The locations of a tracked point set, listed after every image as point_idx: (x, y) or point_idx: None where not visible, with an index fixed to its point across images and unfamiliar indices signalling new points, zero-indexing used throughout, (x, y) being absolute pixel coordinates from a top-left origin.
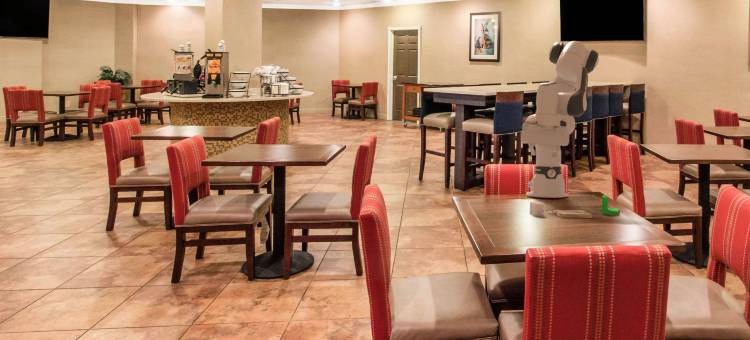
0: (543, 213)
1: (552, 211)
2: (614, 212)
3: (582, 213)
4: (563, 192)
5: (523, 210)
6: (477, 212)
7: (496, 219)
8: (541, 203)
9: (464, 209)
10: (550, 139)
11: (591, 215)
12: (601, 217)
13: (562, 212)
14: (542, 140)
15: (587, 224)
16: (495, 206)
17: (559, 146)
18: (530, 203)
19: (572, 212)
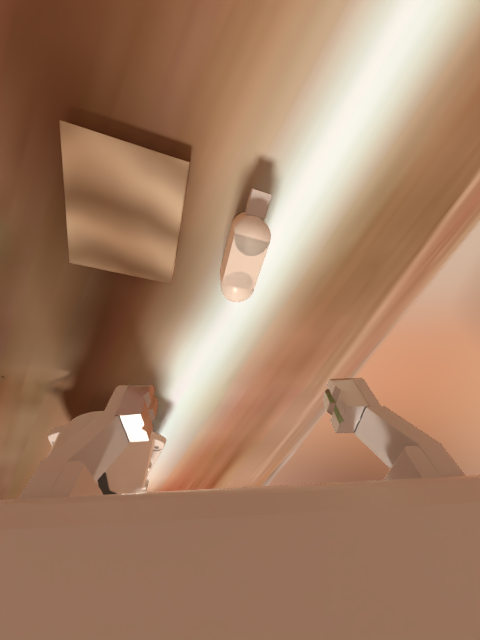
0: (236, 218)
1: (172, 279)
2: None
3: (96, 161)
4: (61, 436)
5: (225, 344)
6: (363, 321)
7: (427, 168)
8: (239, 241)
9: (353, 369)
10: (189, 605)
11: (66, 122)
12: (18, 140)
13: (167, 207)
14: (355, 550)
15: None
16: (254, 406)
17: (37, 487)
18: (254, 285)
19: (128, 201)
